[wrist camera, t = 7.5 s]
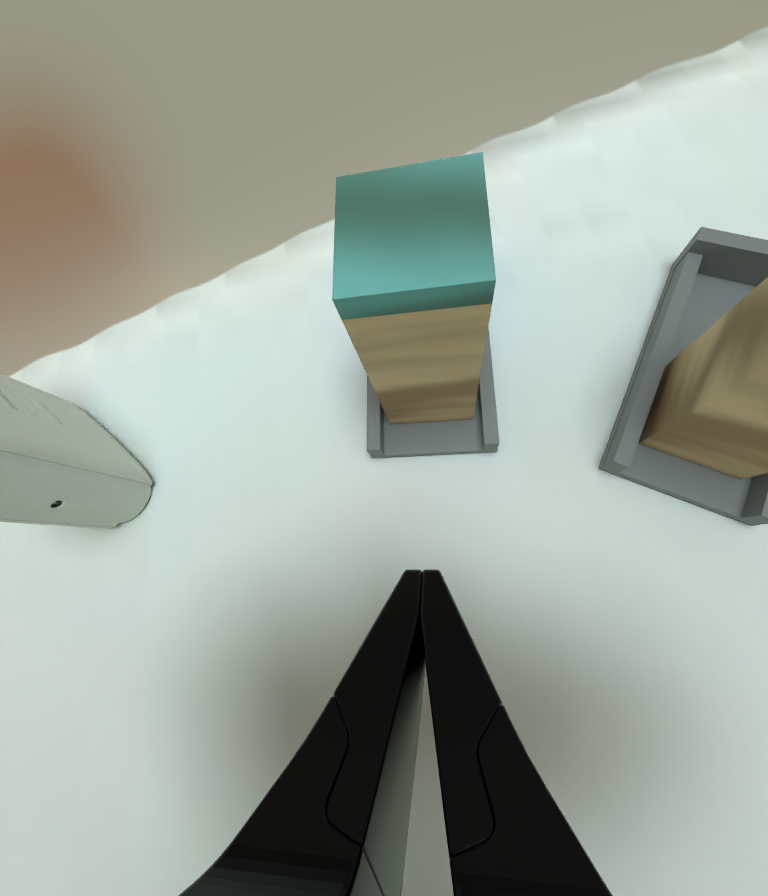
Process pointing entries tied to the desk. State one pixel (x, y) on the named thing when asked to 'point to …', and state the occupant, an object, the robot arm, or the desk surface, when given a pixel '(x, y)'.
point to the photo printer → (63, 464)
